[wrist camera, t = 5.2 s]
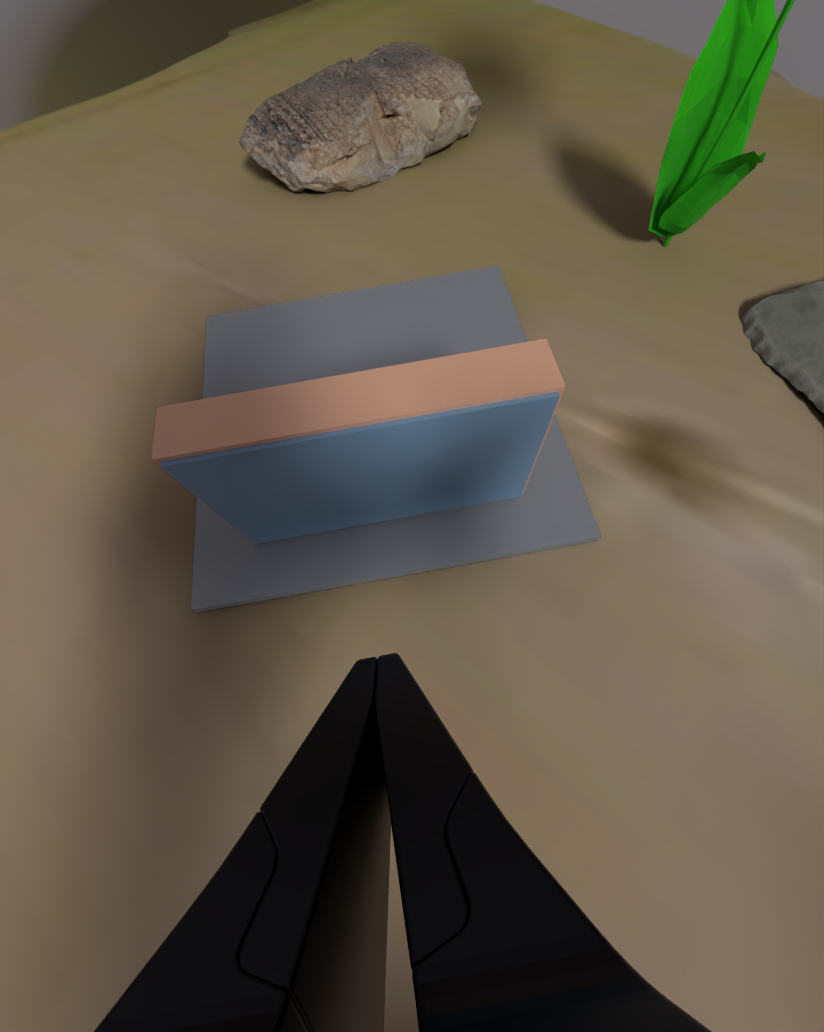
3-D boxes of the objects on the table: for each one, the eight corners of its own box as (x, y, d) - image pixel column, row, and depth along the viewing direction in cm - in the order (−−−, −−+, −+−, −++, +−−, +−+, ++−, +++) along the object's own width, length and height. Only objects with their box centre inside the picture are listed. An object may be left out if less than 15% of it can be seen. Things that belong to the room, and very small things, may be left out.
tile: (524, 497, 21) (567, 390, 14) (251, 546, 21) (150, 464, 14) (511, 457, 22) (546, 338, 15) (251, 504, 22) (156, 406, 15)
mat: (597, 540, 21) (601, 536, 20) (197, 612, 20) (190, 610, 20) (497, 273, 29) (498, 265, 28) (211, 323, 29) (206, 316, 28)
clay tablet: (292, 232, 33) (500, 137, 36) (266, 158, 28) (507, 56, 31) (231, 158, 38) (415, 81, 41) (201, 87, 34) (410, 5, 37)
